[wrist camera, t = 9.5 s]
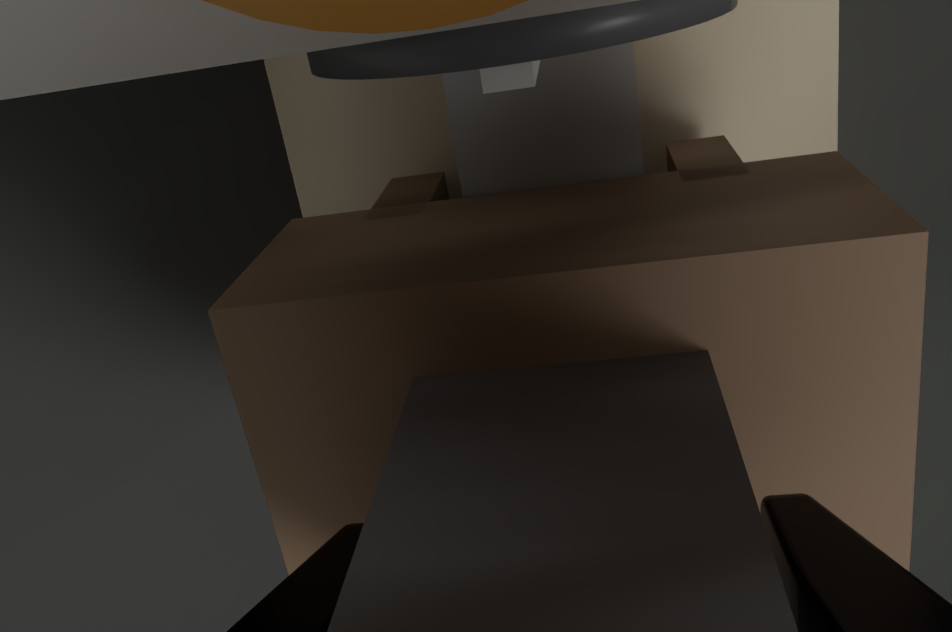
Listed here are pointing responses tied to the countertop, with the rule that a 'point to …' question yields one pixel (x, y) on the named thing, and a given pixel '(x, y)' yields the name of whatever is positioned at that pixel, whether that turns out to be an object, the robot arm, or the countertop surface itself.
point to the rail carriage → (583, 390)
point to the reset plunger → (366, 13)
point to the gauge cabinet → (310, 40)
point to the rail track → (682, 103)
